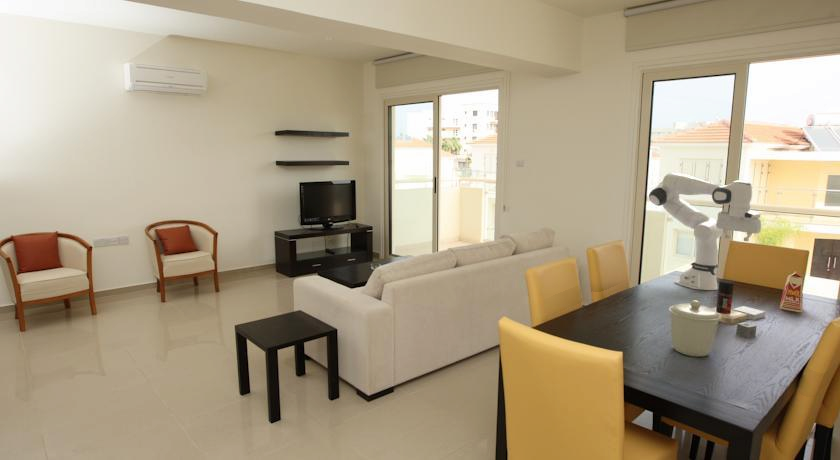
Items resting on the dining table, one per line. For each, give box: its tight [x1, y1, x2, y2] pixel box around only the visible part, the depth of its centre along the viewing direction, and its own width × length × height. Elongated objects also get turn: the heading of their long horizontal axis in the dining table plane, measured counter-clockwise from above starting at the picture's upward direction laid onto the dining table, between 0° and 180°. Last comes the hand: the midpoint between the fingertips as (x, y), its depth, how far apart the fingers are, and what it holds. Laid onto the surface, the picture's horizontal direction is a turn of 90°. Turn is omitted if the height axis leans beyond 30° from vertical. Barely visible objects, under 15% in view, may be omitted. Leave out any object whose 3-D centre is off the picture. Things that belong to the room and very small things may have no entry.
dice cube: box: [735, 321, 757, 339], centre depth 216 cm, size 5×5×5 cm
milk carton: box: [779, 271, 804, 313], centre depth 252 cm, size 9×9×20 cm
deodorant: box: [716, 279, 735, 314], centre depth 237 cm, size 6×6×15 cm
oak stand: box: [710, 306, 748, 325], centre depth 239 cm, size 14×14×3 cm
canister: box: [668, 299, 721, 358], centre depth 196 cm, size 18×18×21 cm
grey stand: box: [732, 305, 766, 321], centre depth 243 cm, size 10×10×2 cm
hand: (736, 239), depth 255 cm, fingers open, 8 cm apart
